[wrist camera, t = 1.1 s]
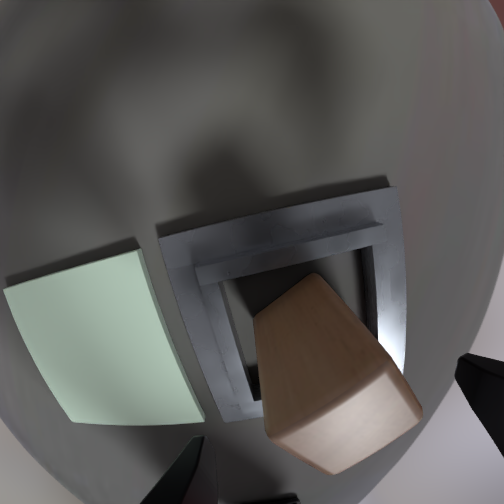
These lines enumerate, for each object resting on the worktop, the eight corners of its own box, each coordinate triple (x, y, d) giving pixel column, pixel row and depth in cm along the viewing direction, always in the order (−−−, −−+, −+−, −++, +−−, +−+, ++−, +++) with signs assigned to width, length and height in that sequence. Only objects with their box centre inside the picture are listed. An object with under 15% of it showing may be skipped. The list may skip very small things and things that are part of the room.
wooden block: (353, 320, 14) (430, 418, 6) (294, 363, 15) (330, 481, 7) (313, 267, 14) (393, 355, 6) (249, 316, 14) (260, 440, 6)
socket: (398, 369, 15) (409, 382, 14) (224, 416, 15) (224, 432, 14) (390, 186, 13) (406, 186, 11) (161, 236, 13) (152, 242, 11)
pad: (205, 415, 15) (204, 421, 15) (75, 417, 15) (72, 421, 15) (140, 248, 13) (136, 251, 12) (8, 286, 13) (3, 289, 12)
